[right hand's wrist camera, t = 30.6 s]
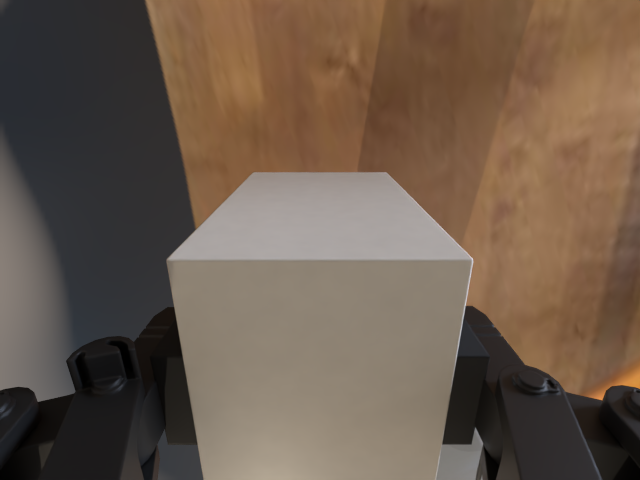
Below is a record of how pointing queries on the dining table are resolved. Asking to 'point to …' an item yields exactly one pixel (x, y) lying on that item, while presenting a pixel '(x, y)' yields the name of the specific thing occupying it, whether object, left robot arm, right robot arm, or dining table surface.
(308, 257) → the brick
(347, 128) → the dining table surface
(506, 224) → the dining table surface
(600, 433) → the right robot arm
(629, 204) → the dining table surface
